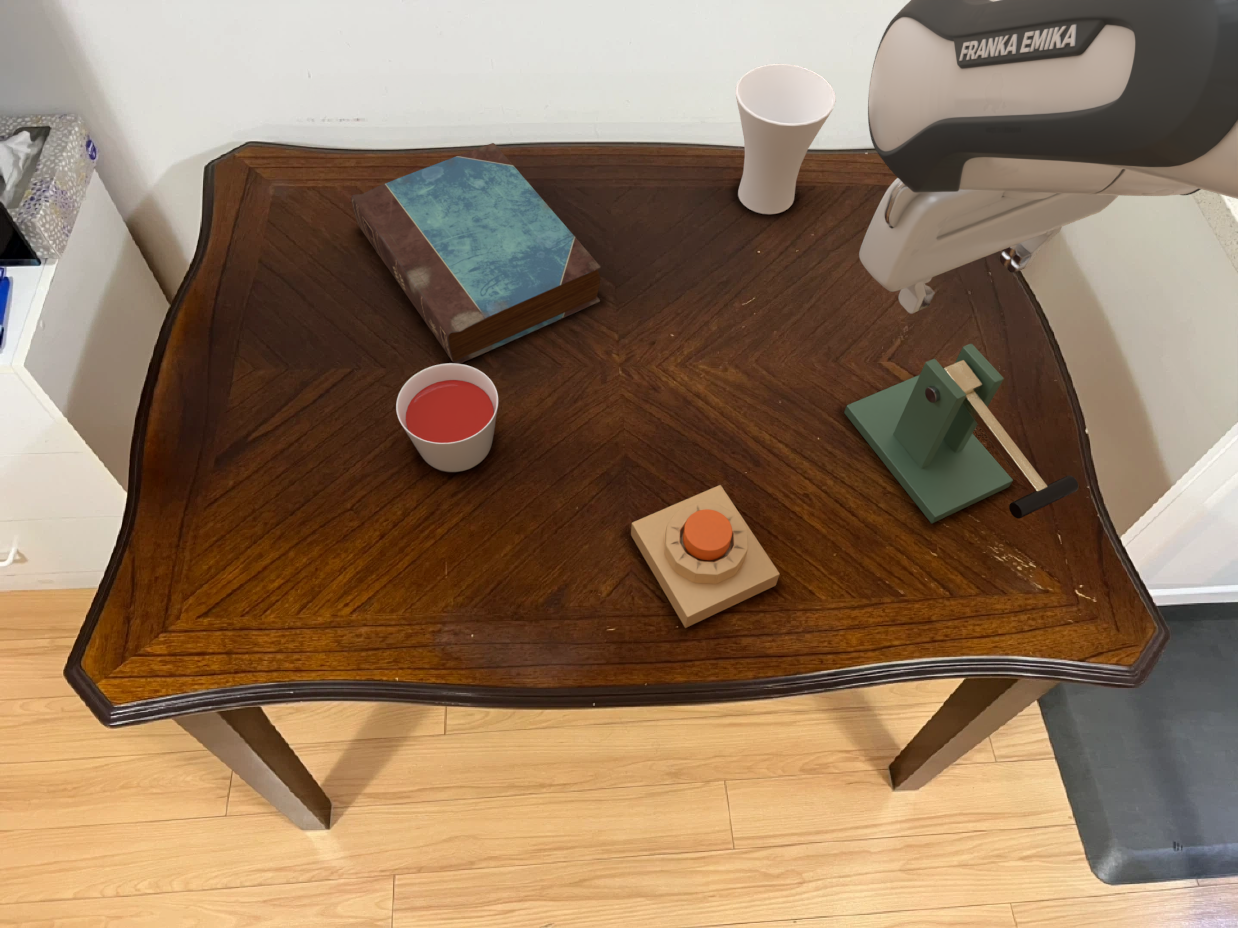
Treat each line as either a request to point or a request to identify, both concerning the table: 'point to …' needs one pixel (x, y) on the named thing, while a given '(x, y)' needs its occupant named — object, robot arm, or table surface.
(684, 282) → the table surface
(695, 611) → the call button
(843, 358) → the table surface
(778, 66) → the cup
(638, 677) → the table surface
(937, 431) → the green lever stand
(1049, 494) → the lever handle
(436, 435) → the white round tub
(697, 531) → the button
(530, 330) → the book
